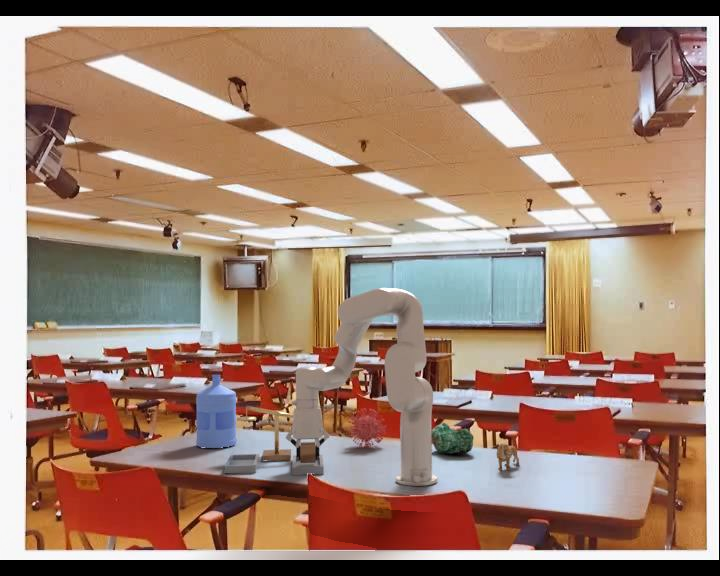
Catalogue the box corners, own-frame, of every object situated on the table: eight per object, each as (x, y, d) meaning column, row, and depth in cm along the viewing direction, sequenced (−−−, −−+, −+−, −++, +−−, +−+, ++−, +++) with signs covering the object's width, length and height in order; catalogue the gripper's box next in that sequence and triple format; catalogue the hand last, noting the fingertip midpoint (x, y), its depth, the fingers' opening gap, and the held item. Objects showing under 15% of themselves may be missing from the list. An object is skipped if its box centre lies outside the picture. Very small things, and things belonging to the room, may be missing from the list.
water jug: (201, 442, 271) (201, 373, 272) (239, 441, 271) (239, 372, 272) (191, 449, 255) (191, 376, 257) (232, 449, 255) (231, 376, 257)
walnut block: (315, 462, 219) (315, 444, 220) (300, 463, 219) (300, 444, 219) (315, 459, 224) (315, 441, 225) (300, 459, 224) (300, 442, 224)
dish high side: (255, 472, 216) (255, 465, 216) (224, 473, 215) (224, 466, 215) (259, 460, 234) (259, 453, 234) (230, 461, 233) (230, 454, 233)
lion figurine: (510, 473, 211) (510, 445, 211) (494, 471, 213) (493, 443, 214) (521, 463, 224) (520, 437, 225) (505, 462, 227) (505, 436, 227)
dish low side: (323, 474, 213) (323, 466, 213) (292, 475, 212) (292, 467, 212) (322, 462, 231) (322, 454, 231) (293, 463, 230) (293, 455, 230)
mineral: (418, 452, 245) (418, 425, 245) (445, 446, 256) (444, 420, 256) (459, 459, 232) (459, 431, 232) (485, 452, 243) (484, 425, 243)
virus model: (371, 442, 266) (371, 404, 267) (393, 447, 254) (393, 408, 255) (340, 446, 258) (340, 408, 259) (362, 452, 246) (361, 412, 247)
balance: (316, 459, 235) (316, 405, 235) (235, 462, 232) (235, 407, 233) (316, 453, 245) (315, 402, 245) (238, 456, 242) (238, 404, 243)
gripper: (281, 406, 218) (281, 462, 217) (333, 405, 219) (333, 460, 219) (282, 403, 225) (282, 457, 225) (332, 402, 227) (332, 455, 226)
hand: (307, 458), depth 222 cm, fingers closed on walnut block, 5 cm apart
